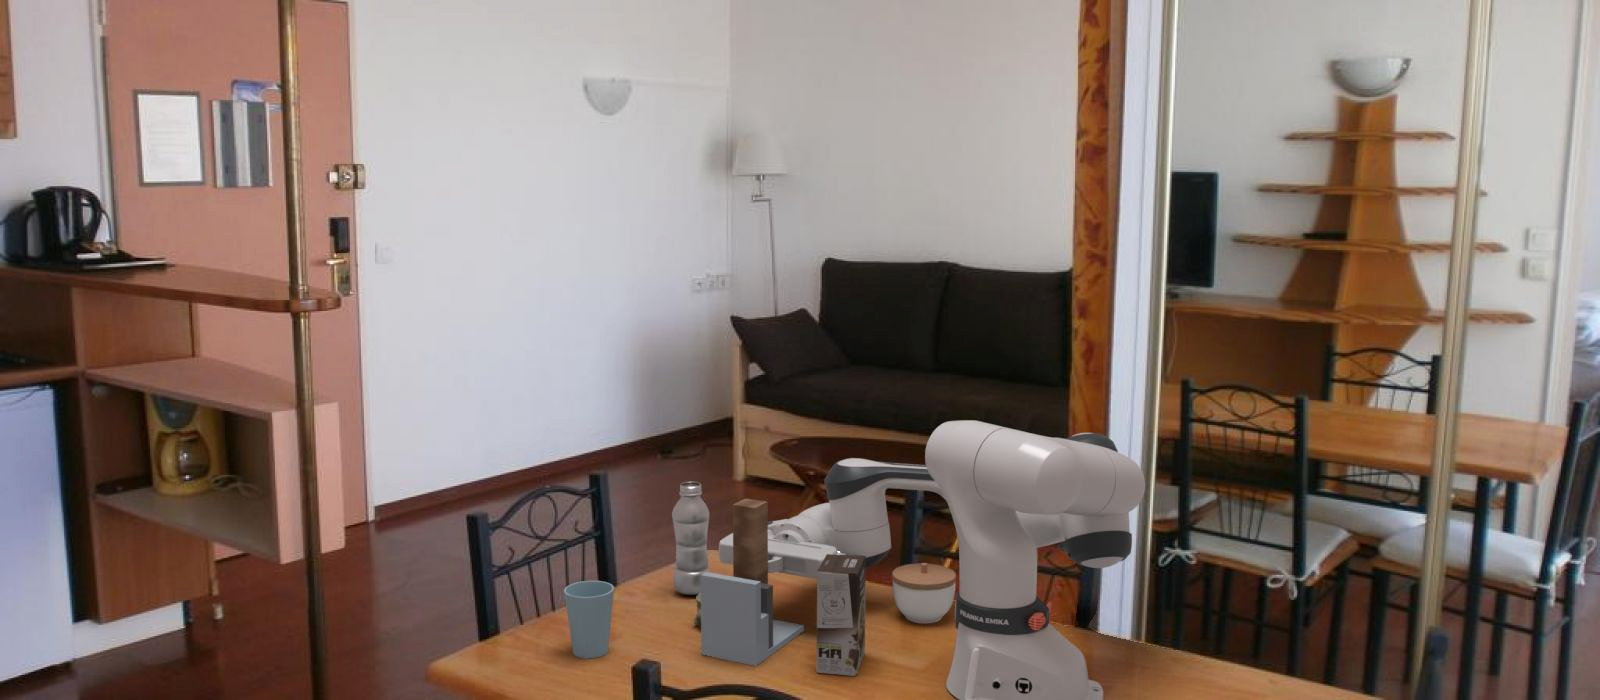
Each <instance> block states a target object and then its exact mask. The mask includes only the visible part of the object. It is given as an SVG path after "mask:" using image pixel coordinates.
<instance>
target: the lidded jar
mask: <svg viewBox="0 0 1600 700" xmlns="http://www.w3.org/2000/svg"><path fill="white" fill-rule="evenodd" d="M891 577H892V592H893V596H894V597H893V598H894V601H895V604H896V606H897V608H898V610H899V611H900V612H901V613H902V614H903V615H904V616H905V619H906V620H908V621H909V622H912V623H917V624H922V625H924V624H926V625H927V624H934V623H938V622H940V621H941V620H942V618H943V617H944V616H945V615H946V614H947V613H948V612H949V611H950V609H951V608H952V605H953V602H954V599H955V593H956V582H957V574H956V572H955V570H953V569H951V568H949V567H947V566H944V565H940V564H937V563H935V564H934V563H927V562H922V563H919V562H918V563H908V564H903V565H899V566H898V567H896V568H895V569H894V570H893V571H892V573H891Z"/></svg>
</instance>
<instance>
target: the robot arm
mask: <svg viewBox="0 0 1600 700" xmlns="http://www.w3.org/2000/svg"><path fill="white" fill-rule="evenodd" d="M924 453H925V455H924V460H925V464H914V463H900V462H885V461H879V460H871V459H866V458H859V457H857V458H856V457H849V458H845V459H842V460H838V461H836V462H835V463H834V464H833V465H832V467H831V468H830V469H829V470H828V472H827V474H826V476H825V478H824V481H823V482H824V486H825V492H826V496H827V499H828V501H829V502H824V503H821V504H817V505H814V506H810V507H809V508H807V509H805V510H803V511H801V512H800V513H798V515H795V516H793V517H790V518H789V519H788V518H784V519H779V520H768V574H774V573H779V574H780V573H781V574H786V575H792V576H797V577H803V578H809V579H815V580H817V571H818V569H819V567H820V565H821V564H822V562H823V560H824V558H825V557H826V555H827V554H832V555H861V556H866V565H865V569H866V568H870V567H872V566H874V565H876V564H878V563H879V562H881V561H883V559H884V558H885V557H886V556H887V555H888V554H889V552H890V551H891V550H892V541H891V530H890V521H889V518H888V511H887V503H886V490H887V489H901V490H912V491H913V490H915V491H927V492H933V493H936V494H938V495H940V496H941V497H942V498H943V499H944V500H945V501H946V503H947V505H948V508H949V510H950V513H951V517H952V520H953V523H954V526H955V530H956V537H957V542H958V552H959V554H958V558H959V563H958V564H959V572H958V573H959V584H958V586H959V589H958V590H959V591H957V592H956V597H955V598H956V599H955V605H954V606H955V608H954V620H955V629H956V637H955V638H956V639H955V647H954V652H953V659H952V662H951V665H950V670H949V673H948V676H947V679H946V683H945V686H946V689H947V690H948V692H949V693H950V695H953V697H955V698H956V699H958V700H1104V697H1105V696H1104V689H1103V687H1102V685H1101V684H1100V683H1099V682H1098V681H1096V680H1093V679H1092V680H1091V679H1089V674H1088V668H1087V661H1086V658H1085V656H1084V653H1083V652H1082V651H1081V650H1080V649H1079V648H1078V647H1077V646H1076V645H1075V644H1073V643H1072V642H1071V641H1069V639H1067V638H1066V637H1065V636H1064V635H1062V634H1061V633H1060V632H1059V631H1058V630H1056V628H1055V627H1054V626H1052V625H1051V624H1050V612H1051V610H1052V601H1049V602H1048V603H1047V604H1045V603H1044V601H1043V600H1041V599H1040V597H1039V596H1038V595H1037V583H1038V582H1037V580H1038V579H1037V578H1038V577H1037V576H1038V575H1037V574H1038V548H1042V547H1046V546H1047V547H1048V546H1050V545H1055V544H1057V549H1058V550H1059V551H1062V552H1065V555H1067V558H1069V559H1070V560H1072V561H1073V562H1074V563H1076V564H1077V565H1078V566H1083V567H1088V568H1091V569H1092V568H1094V569H1102V568H1103V569H1105V568H1109V567H1112V566H1114V565H1116V564H1118V563H1121V562H1122V561H1126V559H1127V558H1128V557H1129V556H1130V555H1131V552H1132V546H1133V533H1131V532H1130V531H1131V530H1130V529H1131V527H1130V512H1131V511H1133V510H1134V509H1136V508H1137V507H1138V505H1139V504H1140V503H1141V501H1142V499H1143V497H1144V494H1145V492H1146V491H1145V490H1146V481H1145V480H1146V479H1145V476H1144V472H1143V470H1142V469H1141V467H1140V466H1139V464H1137V462H1136V461H1134V460H1133V459H1132V458H1130V457H1128V456H1126V455H1125V454H1122V453H1120V452H1119V451H1118V449H1117V447H1116V444H1115V442H1114V441H1113V440H1112V439H1110V438H1109V437H1108V436H1106V435H1105V434H1102V433H1096V432H1095V433H1094V432H1080V433H1076V434H1073V435H1072V436H1068V437H1066V438H1062V437H1051V436H1046V435H1040V434H1036V433H1030V432H1026V431H1022V430H1019V429H1013V428H1010V427H1005V426H1001V425H997V424H993V423H988V422H984V421H979V420H976V419H975V420H973V419H972V420H968V419H967V420H966V419H965V420H964V419H963V420H950V421H945V422H943V423H941V424H940V425H938V426H937V427H936V428H935V429H934V430H933V431H932V432H931V435H930V437H929V438H928V440H927V442H926V447H925V450H924ZM1058 543H1060V544H1058ZM718 558H719V561H720V563H722V564H728V565H732V566H733V532H732V533H730V534H728V535H726V536H725V537H724V538H721V540H720V541H719V543H718Z"/></svg>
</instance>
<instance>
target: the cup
mask: <svg viewBox="0 0 1600 700" xmlns="http://www.w3.org/2000/svg"><path fill="white" fill-rule="evenodd" d="M614 590H615V586H614V585H613V584H611V583H610V582H606V581H601V580H583V581H578V582H573V583H571V584H569V585H567V586H566V587H565V588H564V589H563V594H564V600H565V604H566V605H565V606H566V607H565V608H566V612H567V613H566V614H567V620H568V627H569V632H570V633H569V634H570V641H571V648H572V655H574V656H575V657H577V658H579V659H596V658H601V657H603V656H605V655H607V654H608V653H609V649H610V648H609V646H610V635H611V625H612V624H611V623H612V614H613V613H612V612H613V601H614V593H615V592H614Z"/></svg>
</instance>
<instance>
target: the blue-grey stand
mask: <svg viewBox="0 0 1600 700" xmlns="http://www.w3.org/2000/svg"><path fill="white" fill-rule="evenodd" d="M700 577H701V628H700V634H701V635H700V636H701V637H700V639H701V640H700V641H701V649H700V650H701V651H700V652H701V653H700V654H701V655H702V654H703V656H705V655H707V657H710V656H712V657H711V658H715V657H716V659H721V660H724V659H725V660H726V661H729V662H735V663H740V664H744V665H749V666H754V667H757V666H758V664H759V665H760V664H761V663H763V662H764V661H765V660H766V659H768V658H770V657H771V656H772V655H773V654H775V653H776V652H777V650H778V651H779V650H780V649H782V648H783V647H784V646H786V645H787V644H789V643H790V642H791V641H793V640H794V639H795V638H797V637H798V636H800V635H801V634H802V633H803V632H804V631H805V629H804V628H805V626H804V625H803V624H798V623H793V622H788V621H783V620H777V619H774V584H769V583H768V584H764V583H761V582H760V581H755V580H749V579H743V578H738V577H733V576H732V575H724V574H720V573H714V572H710V573H709V572H705V573H703V574H701V575H700ZM801 632H802V633H801ZM800 633H801V634H800ZM793 638H794V639H793ZM781 647H782V648H781ZM725 660H724V661H725ZM762 661H763V662H762Z"/></svg>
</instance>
